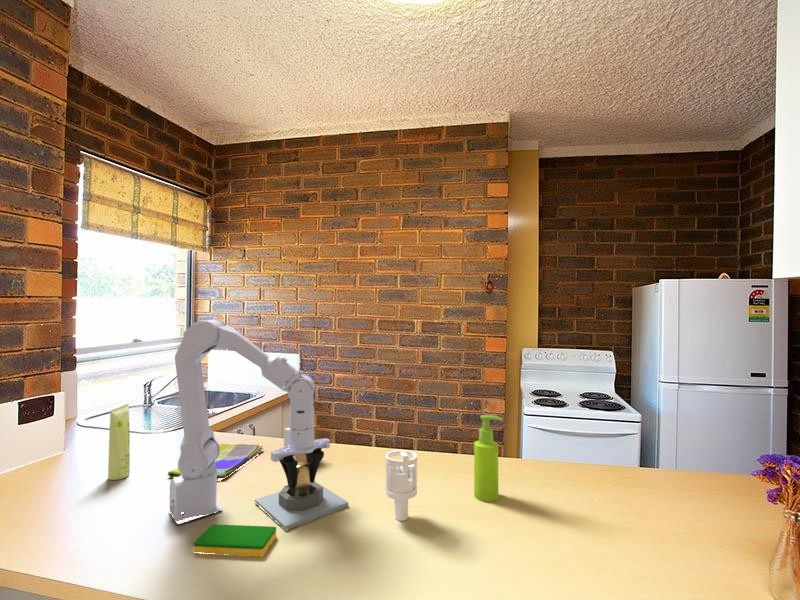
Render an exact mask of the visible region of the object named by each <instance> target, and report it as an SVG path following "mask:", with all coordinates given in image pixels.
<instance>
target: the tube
mask: <svg viewBox="0 0 800 600" xmlns="http://www.w3.org/2000/svg"><path fill="white" fill-rule="evenodd" d="M129 408H130V406H129V403H128V402H127V403H126V404H123V405H121V406H118V407H116V408H113V409H111V410H110V415H109V438H108V462H107V464H108V466H107V467H108V468H107V469H108V470H107V479H108V480H111V481H118V480H121V479H125V478H126V477H127V478H128V476H130V471H131V470H130V466H131V462H130V461H131V459H130V457H131V455H130V453H131V452H130V451H131V450H130V449H131V448H130V446H131V445H130V443H131V441H130V438H131V435H130V434H131V433H130V409H129Z"/></svg>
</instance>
